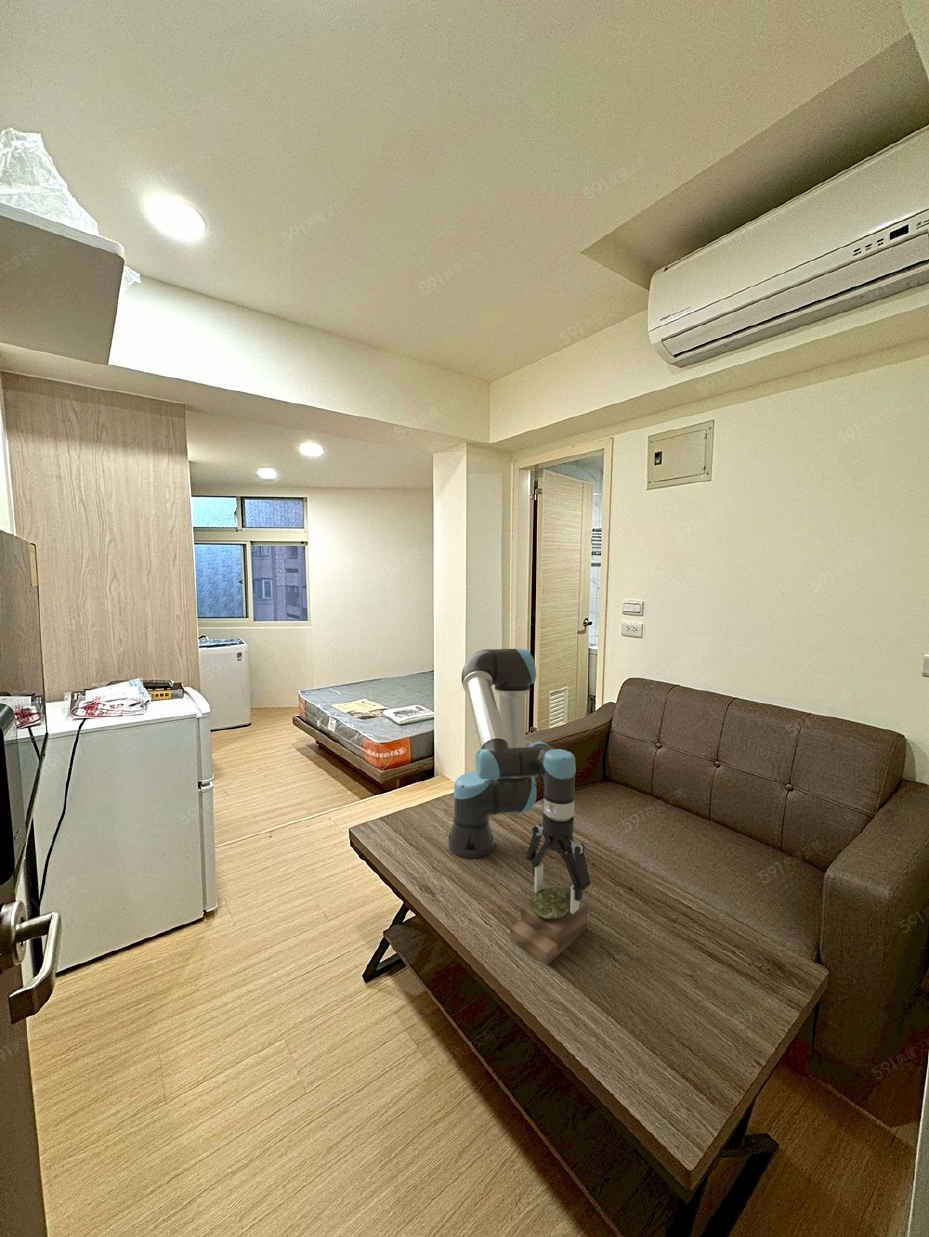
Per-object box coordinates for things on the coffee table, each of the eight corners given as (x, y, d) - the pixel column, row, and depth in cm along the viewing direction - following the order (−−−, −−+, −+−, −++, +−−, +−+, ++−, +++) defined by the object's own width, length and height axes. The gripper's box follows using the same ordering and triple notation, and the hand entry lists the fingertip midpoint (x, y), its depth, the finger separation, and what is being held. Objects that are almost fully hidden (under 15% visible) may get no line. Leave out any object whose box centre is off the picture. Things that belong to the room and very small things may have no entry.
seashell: (521, 898, 121) (546, 865, 123) (534, 906, 125) (557, 874, 127) (550, 930, 113) (575, 894, 115) (562, 937, 117) (586, 902, 119)
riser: (510, 939, 118) (510, 916, 117) (551, 906, 129) (551, 885, 129) (547, 965, 110) (547, 941, 109) (586, 928, 122) (587, 905, 121)
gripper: (513, 803, 124) (511, 885, 125) (591, 837, 107) (587, 931, 109) (531, 794, 129) (529, 873, 131) (607, 825, 113) (604, 915, 114)
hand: (556, 899), depth 120 cm, fingers open, 10 cm apart
